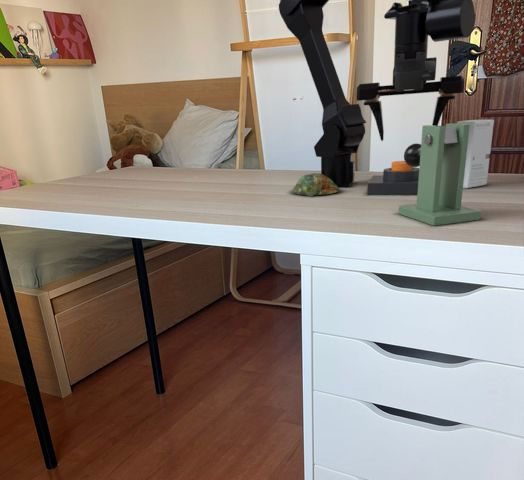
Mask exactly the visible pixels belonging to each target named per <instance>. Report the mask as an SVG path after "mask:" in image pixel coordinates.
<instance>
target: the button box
mask: <svg viewBox="0 0 524 480" xmlns="http://www.w3.org/2000/svg"><path fill="white" fill-rule="evenodd" d="M382 174H383V175H379V174H377V175H372V176H371V178H370V179H369V181H368V182H367V194H366V195H368V196H402V195H403V196H417V194H418V180H419V167H412V170H410V171H391V167H388V168H384V169H383V173H382Z"/></svg>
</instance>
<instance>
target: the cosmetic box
mask: <svg viewBox="0 0 524 480" xmlns="http://www.w3.org/2000/svg"><path fill="white" fill-rule="evenodd" d="M456 124H470V128H469V137H468V146H467V155H466V164H465V173H464V182H463V189H470V188H476V187H481V186H486V185H487V183H488V175H489V167H490V158H491V151H492V150H491V149H492V141H493V134H494V126H495V125H494V124H495V120H494V119H469V120H459V121H457V122H456Z"/></svg>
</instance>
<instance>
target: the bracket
mask: <svg viewBox="0 0 524 480" xmlns="http://www.w3.org/2000/svg"><path fill="white" fill-rule="evenodd" d="M449 126H456V132H457V140H458V143H456V144H454V145H452V146H451V147H449V148H447V149H444V142H445V131H446V127H449ZM469 128H470V124H457V123H456V122H455V123H453V122H451V123H446V124H445V125H438V126H434V125H432V124H426V125H425V124H424V125H422V128H421V140H420V142H421V143H420V144H421V154H420V166H418V168H419V180H418V194H417V195H416V203H411V204H410V203H409V204H403V205H398V214H399V215H402V216H404V217H408V218H410V219H413V220H415V221H419V222H422V223H424V224H427V225H431V226H434V227H435V226H442V225H450V224H457V223H458V224H459V223H464V222H472V221H478V220H481V214H482V213H481V212H482V211H481V210H478V209H474V208H471V207H467V206H463V205H462V200H463V199H462V198H463V190H464V188H463V182H464V173H465V164H466V155H467V146H468V137H469Z"/></svg>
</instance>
